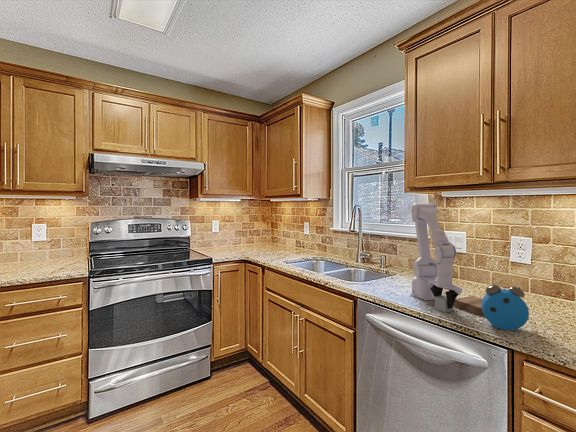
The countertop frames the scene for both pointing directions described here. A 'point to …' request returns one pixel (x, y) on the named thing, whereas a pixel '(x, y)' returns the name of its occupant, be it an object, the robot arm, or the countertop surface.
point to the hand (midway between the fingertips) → (444, 306)
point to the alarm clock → (505, 307)
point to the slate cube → (442, 304)
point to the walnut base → (470, 304)
